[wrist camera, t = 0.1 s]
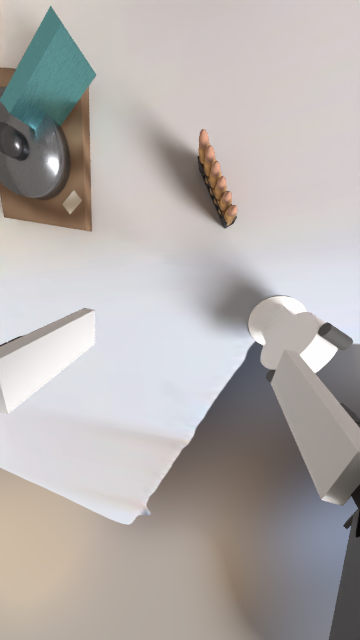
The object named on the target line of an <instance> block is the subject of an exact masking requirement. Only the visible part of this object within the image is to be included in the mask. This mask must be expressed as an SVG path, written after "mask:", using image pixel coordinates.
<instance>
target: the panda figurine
mask: <svg viewBox="0 0 360 640" xmlns="http://www.w3.org/2000/svg"><path fill="white" fill-rule="evenodd" d="M248 327H249V331H250V334H251V335H252V337H253V338H254V339H255V340H256V341H257V342H258V343H260V344H262V345H264V347H263V350H262V353H261V362H262V364H263V365H264V366H265V367H266V368H268V369H269V370H270V371H269V372H268V373H267V377H266V378H267V380H268V381H269V382H271V381H272V379H273V376H274V374H275V371H276V369H277V366H278V364H279V362H280V359H281V357H282V354H283V352H284V350H285V349H286V350H291V351H296V352H298V354H299V355H300V356H301V357H302V359H303V360H304V361H305V362H306V363H307V365H308V366H309V367H310V368H311V369H312V371H313V372H314V373H316V372H317V371H319V370H320V369H321V368H322V367H323V366H324V365H326V363H327V362H329V360H330V359H331V358H332V357H333V356H334V354H335V353H336V351H337V349H338V348H339V349H341V350H345V349H347V348H349V347H350V346H351V345H352V343H353V340H352V339H351V338H350V337H349V336H347V335H346V334H344V333H343V332H341V331H340V330H338V329H337V328H336V327H334V326H333V325H331V324H330V323H325V322H324V321H322V320H321V319H319V318H318V317H316V316H315V315H313V314H312V313H310V312H306V310H305V308H304V306H303V305H302V304H301V303H300V302H298V301H297V300H295V299H293V298H291V297H287V296H274V297H270V298H267V299H265V300H263V301H262V302H260V303H259V304H258V305H257V306H256V307H255V308H254V309H253V310H252V312H251V314H250V316H249V320H248Z"/></svg>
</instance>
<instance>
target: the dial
mask: <svg viewBox="0 0 360 640" xmlns="http://www.w3.org/2000/svg"><path fill="white" fill-rule="evenodd" d="M95 76H96V74H95V72H94V71H93V69H92V67H91V66H90V64H89V63H88V61H87V60H86V58H85V57H84V55H83V54H82V52H81V51H80V49H79V48H78V46H77V45H76V43H75V42H74V40H73V39H72V37H71V36H70V34H69V33H68V31H67V30H66V28H65V27H64V25H63V24H62V22H61V21H60V19H59V18H58V16H57V15H56V13H55V12H54V10H53V9H52V7H51V6H50V8H49V10H48V12H47V13H46V15H45V17H44V19H43V21H42V23H41V24H40V26H39V28H38V30H37V32H36V34H35V36H34V37H33V39H32V41H31V43H30V45H29V47H28V49H27V50H26V52H25V54H24V56H23V58H22V60H21V61H20V63H19V65H18V67H17V69H16V71H15V73H14V74H13V76H12V78H11V80H10V82H9V84H8V85H7V86H4V87H0V182H1V183H2V184H3V185H4V186H5V187H6V188H8V189H9V190H11V191H12V192H14V193H16V194H19V195H22V196H26V197H29V198H33V199H36V200H49V199H52V198H54V197H56V196H57V195H59V194H60V193H61V191H62V190H63V189H64V187H65V185H66V183H67V181H68V178H69V174H70V166H71V159H70V151H69V146H68V142H67V139H66V136H65V134H64V132H63V130H62V128H61V125H62V124H63V122H64V121H65V119H66V118H67V116H68V115H69V114H70V112H71V111H72V109H73V108H74V106H75V105H76V103H77V102H78V101H79V99H80V98H81V96H82V95H83V93H84V92H85V91H86V89H87V88H88V86H89V85H90V83H91V82H92V80H93V79H94V78H95Z"/></svg>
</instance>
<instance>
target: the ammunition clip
mask: <svg viewBox="0 0 360 640" xmlns="http://www.w3.org/2000/svg"><path fill="white" fill-rule="evenodd" d="M198 163H199V170H200V172H201V175H202V177H203V179H204V182H205V184H206V186H207V189H208V191H209V193H210V196H211V198H212V200H213V203H214V205H215V207H216V210H217V212H218V214H219V217H220V219H221V221H222V224H223V226H224V228H227V227H228V226H230V225H232V224H233V223H234V222H235V220H236V218H237V217H236V214H237V207H236V206H235V205H232V204H231V202H232V199H231V198H232V194H231V192H230V191H226V189H227V187H226V179H225V177H224V176H221V171H220V164H219V162H218V161H216V159H215V153H214V149H213V147H212V146H211V145H210V144H209V139H208V134H207V132H206V130H205V129H202V130H201V132H200V136H199V156H198Z"/></svg>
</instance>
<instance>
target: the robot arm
mask: <svg viewBox="0 0 360 640" xmlns="http://www.w3.org/2000/svg"><path fill="white" fill-rule="evenodd" d="M94 344H95V310H92V309H87V308H83V309H81V310H79V311H77V312H75V313H72V314H70V315H68V316H66V317H64V318H62V319H59V320H57V321H55V322H53V323H51V324H48V325H46V326H44V327H42V328H40V329H38V330H35V331H33V332H31V333H29V334H27V335H24V336H20V337H17V338H15V339H13V340H10V341H8V343H7V342H6V343H4V344H2V345H0V412H2V413H6V414H9V413H10V412H11V411H13V410H14V409H15V408H16V407H17V406H19V405H20V404H21V403H22V402H24V401H25V400H26V399H27V398H29V397H30V396H31V395H32V394H34V393H35V392H36V391H37V390H39V389H40V388H41V387H42V386H44V385H45V384H46V383H47V382H48V381H50V380H51V379H52V378H53V377H55V376H56V375H57V374H58V373H60V372H61V371H62V370H63V369H65V368H66V367H67V366H68V365H70V364H71V363H72V362H73V361H75V360H76V359H77V358H78V357H79V356H81V355H82V354H83V353H84V352H86V351H87V350H88V349H89V348H91V347H92V346H93V345H94ZM271 385H272V388H273V390H274V392H275V394H276V397H277V398H278V401H279V404H280V406H281V408H282V410H283V413H284V415H285V417H286V420H287V422H288V424H289V426H290V429H291V431H292V433H293V436H294V438H295V440H296V443H297V445H298V447H299V450H300V452H301V454H302V456H303V459H304V461H305V463H306V466H307V468H308V470H309V472H310V475H311V477H312V479H313V482H314V484H315V486H316V489H317V491H318V493H319V496H320V498H321V500H324V501H327V502H331V503H335V504H339V505H344V504H345V503H346V502H347V501H348V499H349V498H350V497H351V496H352V498H353V500H354V501H355V503H356V505H357V507H358V509H357V511H356V512H355V513H354V514H353V515H352V516H351V517H350V518H349V519H348V520H347V521H346V523H345V524H344V527H345V528H346V529H348V528H349V527H350V526H351V530H350V535H349V540H348V545H347V551H346V556H345V560H344V566H343V571H342V576H341V581H340V586H339V591H338V596H337V601H336V606H335V611H334V617H333V621H332V626H331V632H330V637H329V640H360V419H359V418H358V417H357V416H356V414H355V413H354V412H352V411H351V410H350V409H349V408H347V407H346V406H345V405H344V404H342V403H339V402H338V401H337V400H336V399H335V397H334V396H333V395H332V394H331V393H330V391H329V390H328V389H327V388H326V386H325V385H324V384H323V383H322V382H321V380H320V379H319V378H318V377H317V376H316V374H315V373H314V372H313V371H312V369H311V368H310V367H309V366H308V365H307V363H306V362H305V361H304V360H303V359H302V357H301V356H300V355H299V354H298V352H296V351H291V350H286V349H285V350H284V352H283V354H282V357H281V359H280V362H279V364H278V366H277V369H276V371H275V374H274V376H273V379H272V381H271Z"/></svg>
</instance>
